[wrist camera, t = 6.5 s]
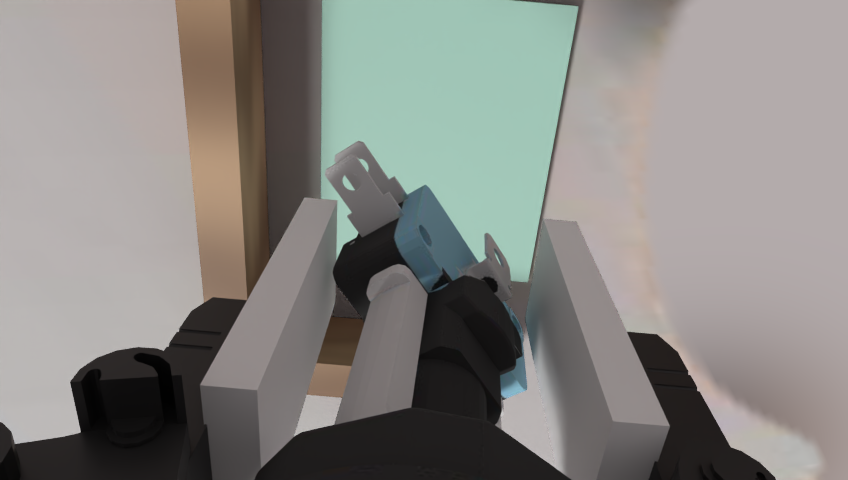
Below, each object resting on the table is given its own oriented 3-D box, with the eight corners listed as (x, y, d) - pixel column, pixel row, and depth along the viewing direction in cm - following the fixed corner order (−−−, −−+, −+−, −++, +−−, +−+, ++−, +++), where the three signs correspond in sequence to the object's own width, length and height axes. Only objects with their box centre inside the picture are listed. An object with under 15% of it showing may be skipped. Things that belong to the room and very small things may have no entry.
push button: (264, 193, 15) (-68, 599, 6) (455, 76, 13) (401, 391, 4) (414, 385, 17) (341, 888, 8) (592, 306, 15) (745, 826, 6)
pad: (323, -18, 19) (322, -17, 19) (577, 5, 19) (578, 6, 19) (321, 261, 24) (320, 264, 23) (527, 279, 24) (527, 282, 24)
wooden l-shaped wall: (180, -483, 15) (120, -576, 12) (627, -439, 15) (668, -522, 12) (236, 338, 25) (212, 386, 23) (494, 360, 25) (500, 410, 23)
